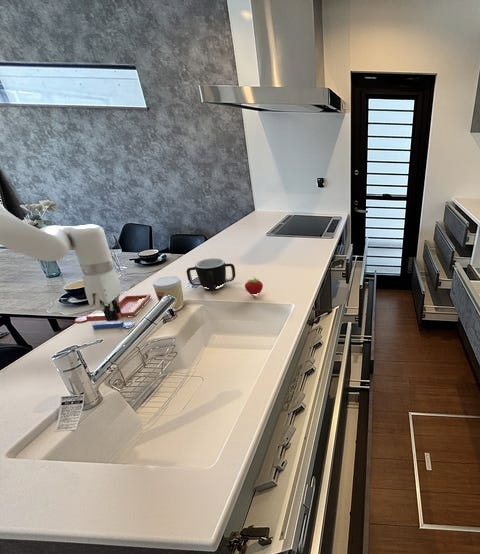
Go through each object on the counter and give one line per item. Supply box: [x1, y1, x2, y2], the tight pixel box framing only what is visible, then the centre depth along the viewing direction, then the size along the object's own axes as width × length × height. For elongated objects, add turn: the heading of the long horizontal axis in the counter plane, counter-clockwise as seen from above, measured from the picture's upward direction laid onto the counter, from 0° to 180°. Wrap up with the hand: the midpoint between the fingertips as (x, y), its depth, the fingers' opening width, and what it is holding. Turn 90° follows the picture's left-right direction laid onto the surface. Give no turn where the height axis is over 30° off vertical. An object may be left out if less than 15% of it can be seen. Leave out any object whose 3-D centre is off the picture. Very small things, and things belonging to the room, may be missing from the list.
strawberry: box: [244, 277, 264, 295], centre depth 133 cm, size 6×8×10 cm
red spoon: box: [74, 313, 123, 324], centre depth 97 cm, size 12×4×2 cm, turn 103°
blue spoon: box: [91, 320, 135, 331], centre depth 109 cm, size 12×4×2 cm, turn 103°
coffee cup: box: [152, 276, 185, 311], centre depth 121 cm, size 9×9×12 cm
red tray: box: [118, 294, 152, 319], centre depth 121 cm, size 9×15×2 cm, turn 13°
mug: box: [186, 258, 236, 291], centre depth 140 cm, size 16×16×12 cm
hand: (114, 318), depth 99 cm, fingers closed on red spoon, 1 cm apart
